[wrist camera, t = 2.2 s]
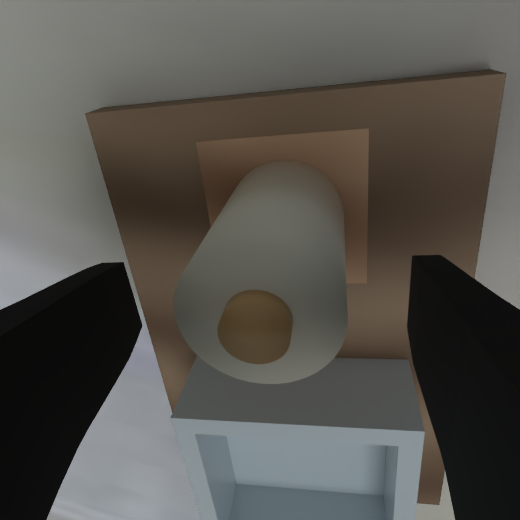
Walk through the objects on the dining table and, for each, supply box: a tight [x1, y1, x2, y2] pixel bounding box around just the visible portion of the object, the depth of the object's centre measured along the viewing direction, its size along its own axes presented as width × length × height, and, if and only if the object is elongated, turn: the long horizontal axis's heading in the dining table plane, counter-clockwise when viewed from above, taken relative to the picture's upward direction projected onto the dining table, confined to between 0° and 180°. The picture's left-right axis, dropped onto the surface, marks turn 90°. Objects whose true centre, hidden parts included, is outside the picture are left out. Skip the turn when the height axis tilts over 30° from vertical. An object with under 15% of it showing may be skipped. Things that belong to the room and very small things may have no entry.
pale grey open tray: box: [171, 355, 425, 520], centre depth 18 cm, size 9×9×4 cm
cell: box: [173, 160, 348, 384], centre depth 12 cm, size 4×4×7 cm
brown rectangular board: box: [85, 70, 506, 505], centre depth 18 cm, size 20×13×1 cm, turn 6°
